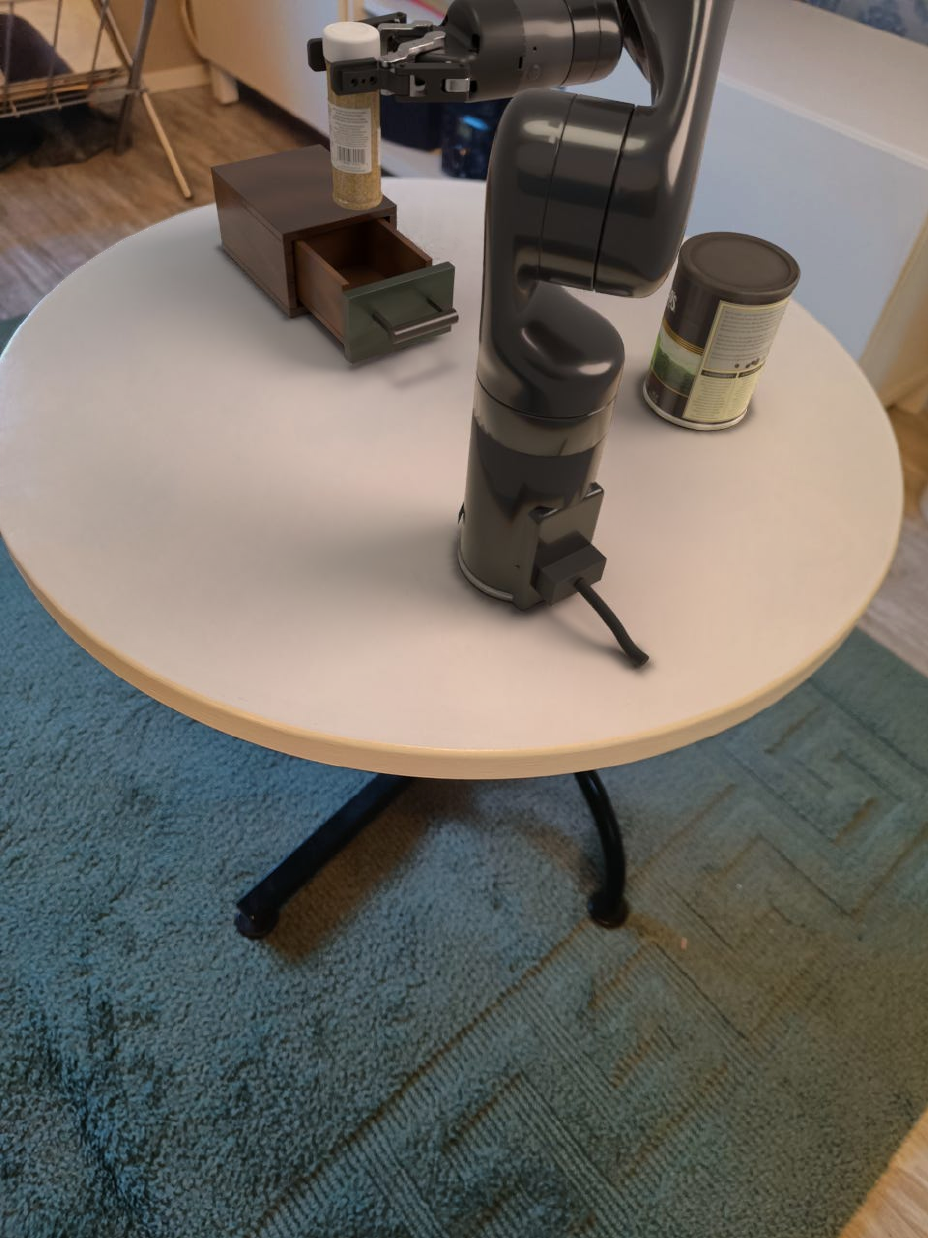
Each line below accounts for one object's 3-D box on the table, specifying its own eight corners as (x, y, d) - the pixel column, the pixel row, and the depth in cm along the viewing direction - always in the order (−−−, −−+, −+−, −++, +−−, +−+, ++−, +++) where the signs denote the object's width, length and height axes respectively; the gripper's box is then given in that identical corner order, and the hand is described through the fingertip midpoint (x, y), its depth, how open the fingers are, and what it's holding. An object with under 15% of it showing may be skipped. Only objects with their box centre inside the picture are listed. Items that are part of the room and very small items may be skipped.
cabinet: (396, 286, 94) (397, 204, 87) (290, 318, 88) (282, 233, 82) (324, 222, 101) (319, 143, 95) (222, 248, 96) (210, 166, 89)
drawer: (475, 352, 85) (481, 287, 80) (374, 387, 80) (373, 321, 75) (375, 265, 94) (374, 201, 89) (279, 292, 90) (272, 226, 84)
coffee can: (627, 409, 82) (664, 269, 72) (660, 355, 89) (698, 219, 78) (732, 445, 80) (786, 305, 69) (759, 387, 86) (812, 251, 75)
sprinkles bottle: (391, 196, 79) (390, 26, 69) (366, 217, 77) (361, 43, 66) (347, 184, 80) (340, 14, 70) (322, 203, 78) (310, 30, 67)
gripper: (472, -31, 76) (285, -17, 70) (555, 23, 68) (351, 44, 62) (467, 65, 82) (294, 86, 76) (542, 126, 74) (355, 153, 68)
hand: (321, 67), depth 69 cm, fingers closed on sprinkles bottle, 4 cm apart
